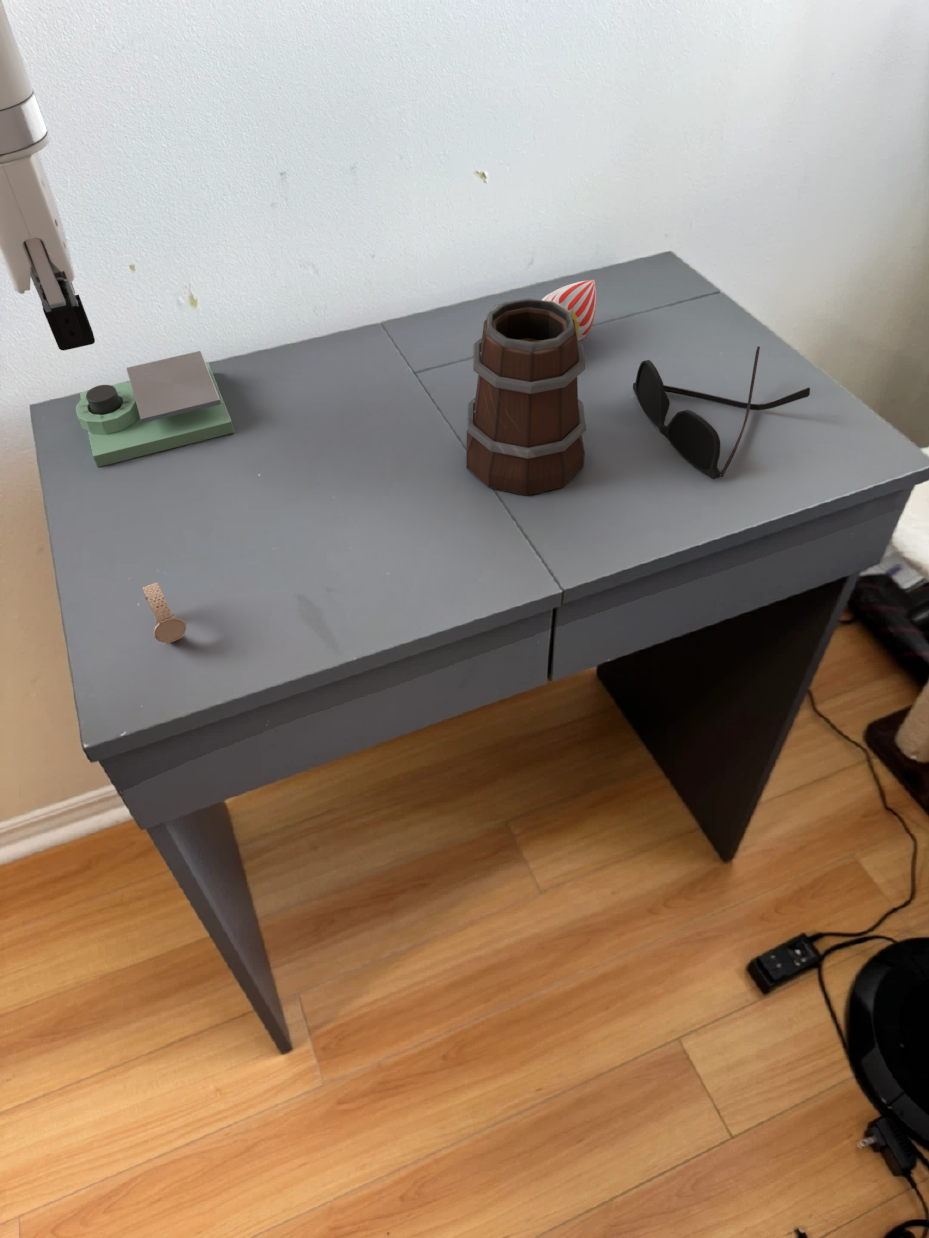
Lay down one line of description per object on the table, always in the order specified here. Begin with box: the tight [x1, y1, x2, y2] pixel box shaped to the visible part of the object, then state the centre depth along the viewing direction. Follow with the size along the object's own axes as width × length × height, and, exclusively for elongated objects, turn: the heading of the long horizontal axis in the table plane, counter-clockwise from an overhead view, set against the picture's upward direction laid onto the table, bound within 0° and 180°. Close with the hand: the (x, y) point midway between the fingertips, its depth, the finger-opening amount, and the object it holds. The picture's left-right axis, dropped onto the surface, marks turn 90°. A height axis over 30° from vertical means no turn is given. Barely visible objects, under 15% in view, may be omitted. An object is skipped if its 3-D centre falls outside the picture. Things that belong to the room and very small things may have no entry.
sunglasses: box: [632, 345, 811, 480], centre depth 89 cm, size 17×14×5 cm
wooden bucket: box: [465, 297, 587, 496], centre depth 83 cm, size 16×12×15 cm
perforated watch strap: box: [142, 581, 188, 645], centre depth 71 cm, size 3×5×5 cm, turn 30°
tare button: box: [86, 384, 121, 415], centre depth 90 cm, size 3×3×2 cm
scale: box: [75, 362, 235, 468], centre depth 92 cm, size 14×12×3 cm
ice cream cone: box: [541, 279, 597, 342], centre depth 98 cm, size 6×6×20 cm
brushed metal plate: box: [126, 350, 221, 423], centre depth 91 cm, size 8×10×1 cm
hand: (77, 342), depth 80 cm, fingers closed
